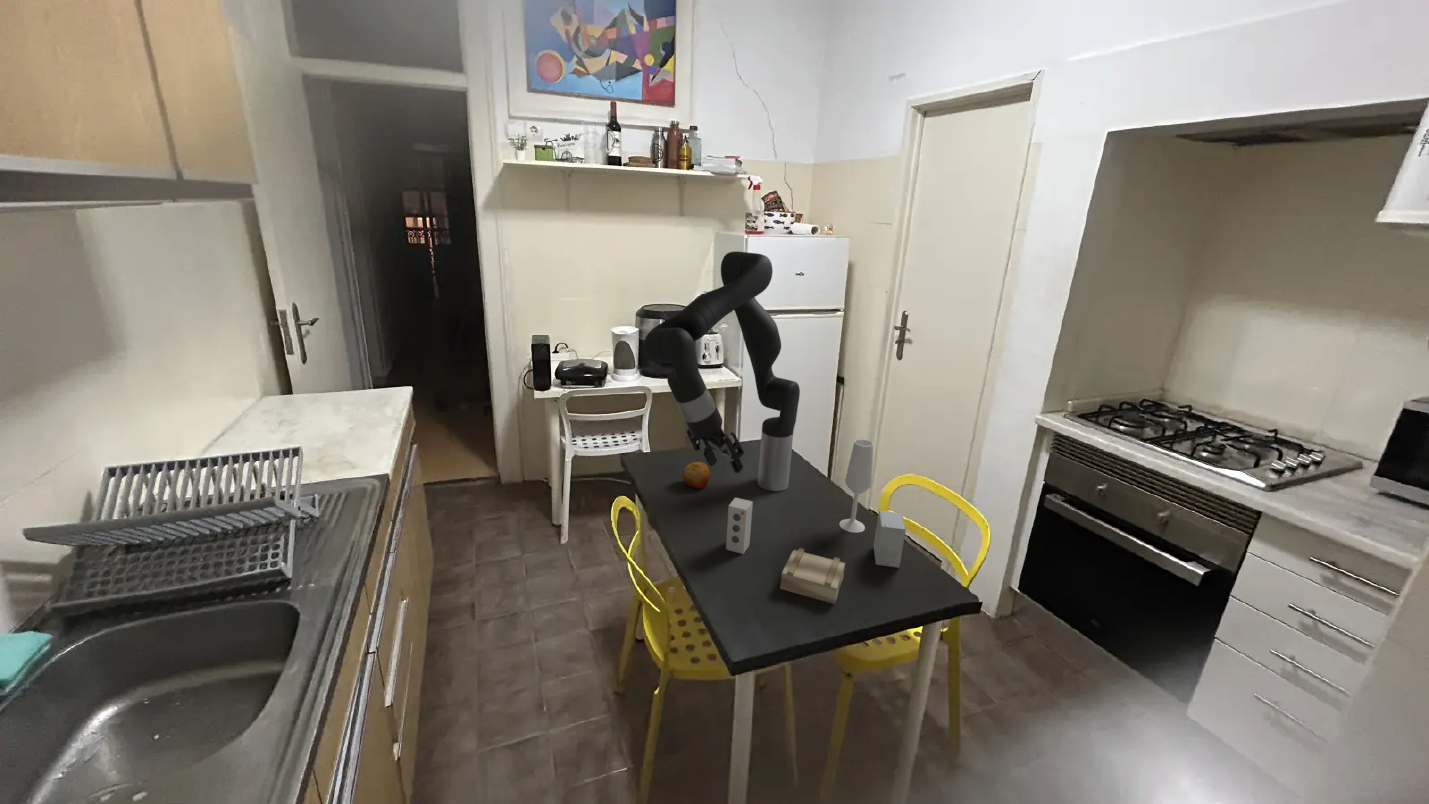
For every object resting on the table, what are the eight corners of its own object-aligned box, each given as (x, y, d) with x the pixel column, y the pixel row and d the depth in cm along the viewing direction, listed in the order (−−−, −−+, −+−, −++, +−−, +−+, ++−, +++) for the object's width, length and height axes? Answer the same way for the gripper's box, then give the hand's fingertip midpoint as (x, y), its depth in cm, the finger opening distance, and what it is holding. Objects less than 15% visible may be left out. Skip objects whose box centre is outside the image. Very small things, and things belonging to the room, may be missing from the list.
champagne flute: (870, 528, 150) (883, 445, 142) (851, 535, 147) (863, 450, 139) (852, 517, 156) (864, 436, 148) (834, 522, 152) (844, 440, 145)
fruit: (718, 477, 172) (711, 461, 166) (705, 498, 167) (698, 482, 162) (696, 470, 176) (689, 454, 170) (683, 490, 171) (675, 474, 166)
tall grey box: (732, 540, 142) (735, 497, 138) (749, 544, 141) (752, 501, 137) (725, 549, 138) (728, 506, 134) (743, 554, 137) (746, 510, 133)
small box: (899, 568, 134) (906, 530, 131) (874, 565, 135) (881, 526, 132) (896, 550, 141) (902, 512, 138) (873, 546, 142) (878, 509, 139)
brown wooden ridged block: (792, 564, 134) (793, 546, 132) (843, 578, 130) (845, 560, 128) (780, 588, 125) (782, 570, 123) (834, 604, 121) (837, 585, 119)
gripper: (733, 403, 119) (758, 462, 127) (689, 397, 130) (715, 451, 137) (710, 425, 116) (738, 484, 123) (667, 416, 126) (695, 471, 133)
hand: (726, 467), depth 130 cm, fingers open, 8 cm apart
